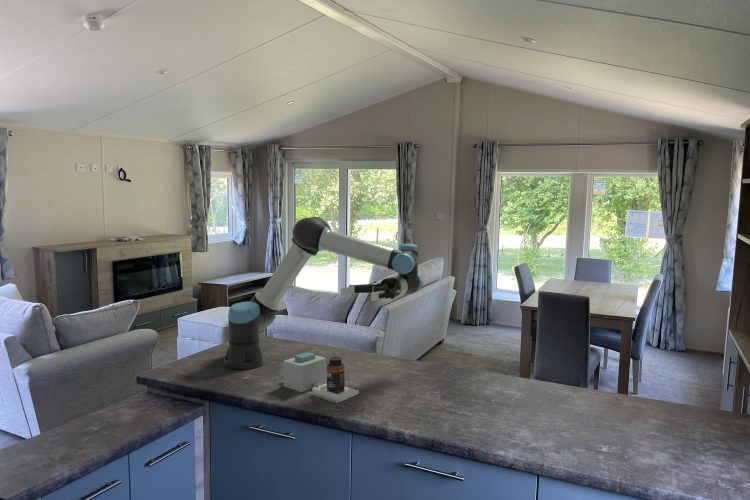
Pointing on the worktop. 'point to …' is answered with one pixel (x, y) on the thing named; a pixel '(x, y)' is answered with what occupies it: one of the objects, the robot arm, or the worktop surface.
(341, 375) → the supplement bottle
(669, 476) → the worktop surface
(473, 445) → the worktop surface
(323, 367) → the white two-part device
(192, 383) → the worktop surface
